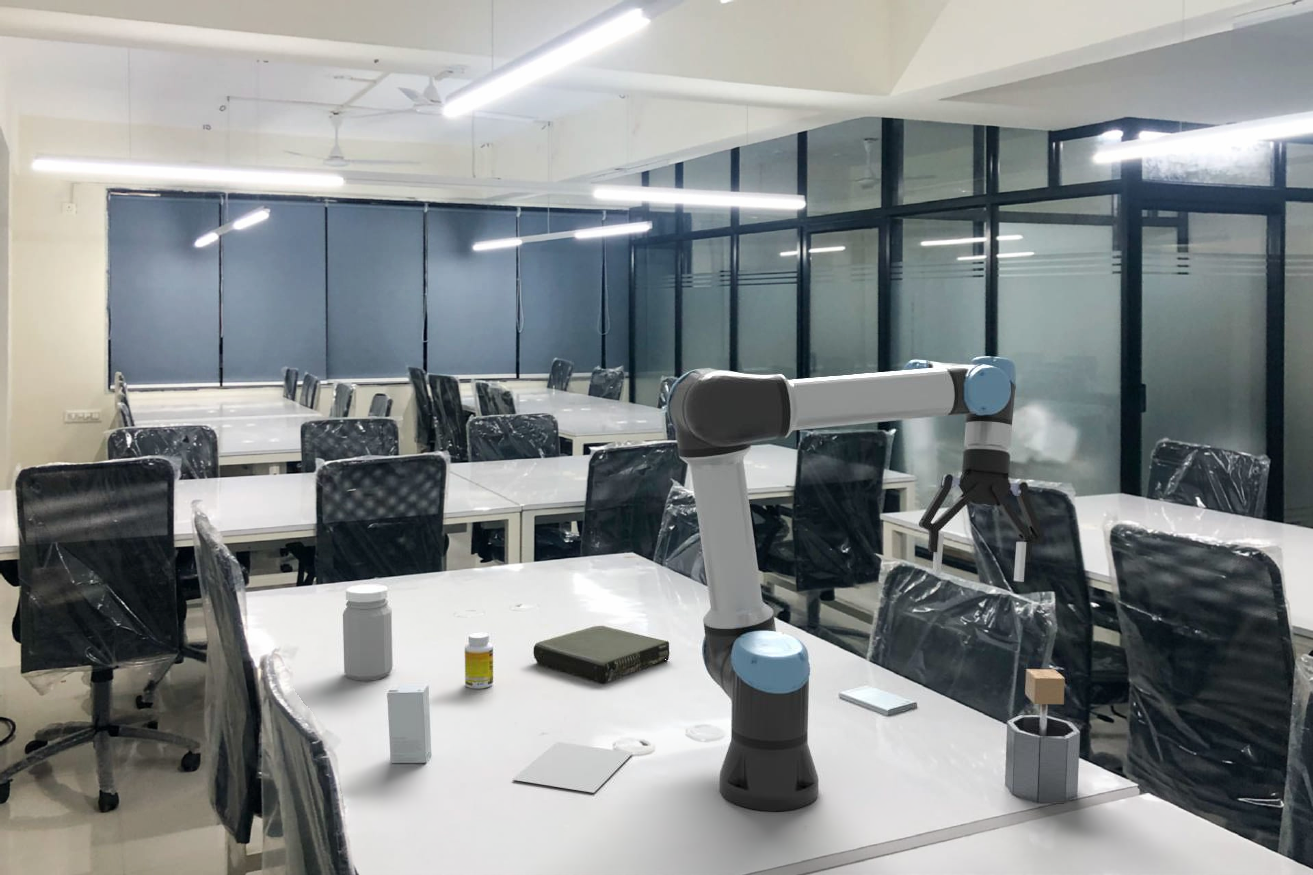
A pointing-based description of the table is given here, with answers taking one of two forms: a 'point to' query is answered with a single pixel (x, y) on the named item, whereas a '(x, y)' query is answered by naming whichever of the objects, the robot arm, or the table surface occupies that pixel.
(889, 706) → the hard drive
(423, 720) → the skincare box
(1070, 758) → the octagonal metal cup
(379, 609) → the jar
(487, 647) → the supplement bottle
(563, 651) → the network switch
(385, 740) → the table surface
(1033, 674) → the plunger
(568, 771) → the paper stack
